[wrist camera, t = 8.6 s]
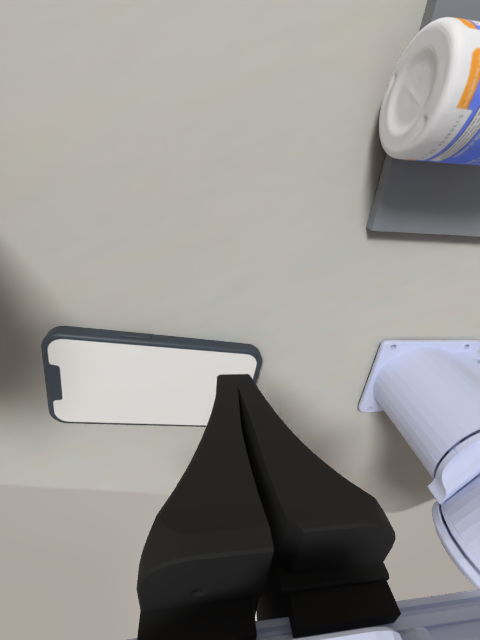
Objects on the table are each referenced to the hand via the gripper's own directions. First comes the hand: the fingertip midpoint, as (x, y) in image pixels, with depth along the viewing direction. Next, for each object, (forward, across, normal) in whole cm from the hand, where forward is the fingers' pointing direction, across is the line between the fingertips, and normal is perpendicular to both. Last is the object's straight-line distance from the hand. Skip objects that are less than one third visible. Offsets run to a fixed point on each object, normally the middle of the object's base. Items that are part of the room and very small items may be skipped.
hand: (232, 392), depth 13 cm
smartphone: (+11, +4, +8) cm, 14 cm away
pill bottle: (+7, -8, -12) cm, 16 cm away
